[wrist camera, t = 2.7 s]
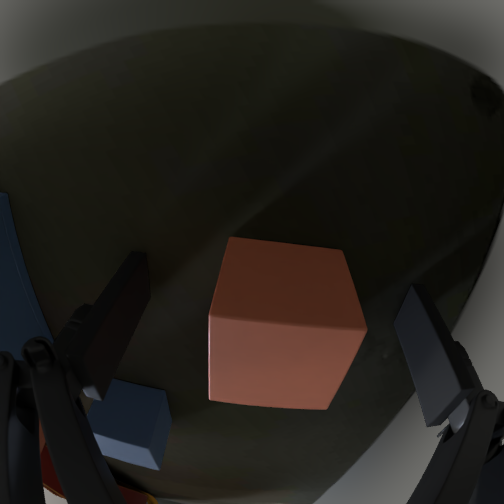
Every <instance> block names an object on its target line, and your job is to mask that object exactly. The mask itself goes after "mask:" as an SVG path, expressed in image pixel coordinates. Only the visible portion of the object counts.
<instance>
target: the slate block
mask: <svg viewBox="0 0 504 504" xmlns="http://www.w3.org/2000/svg"><path fill="white" fill-rule="evenodd" d="M87 418H88V421H89V424H90V426H91V429H92V431H93V434H94V436H95V438H96V441H97V443H98V446H99V448H100V450H101V452H102V454H103V455H106V456H109V457H112V458H115V459H118V460H121V461H125V462H128V463H132V464H135V465H139V466H143V467H147V468H151V469H155V470H160V468H161V464H162V460H163V456H164V452H165V447H166V443H167V439H168V435H169V431H170V427H171V423H172V418H171V414H170V410H169V406H168V401H167V397H166V393H165V391H164V390H160V389H155V388H151V387H146V386H142V385H137V384H133V383H129V382H125V381H121V380H117V379H112V381H111V384H110V386H109V388H108V391H107V393H106V395H105V398H104V400H103V401H100V400H96V399H94V400H93V403H92V405H91V407H90V410H89V412H88V414H87Z"/></svg>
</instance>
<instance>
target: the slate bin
mask: <svg viewBox="0 0 504 504" xmlns="http://www.w3.org/2000/svg"><path fill="white" fill-rule="evenodd" d="M38 336H42V337H46V338H47V339H49V340H50V341H51V343H52V344H53V342H54V340H53V337H52V335H51V333H50V330H49V328H48V326H47V323H46V321H45V319H44V316H43V314H42V311H41V309H40V306H39V303H38V301H37V298H36V295H35V293H34V290H33V287H32V284H31V281H30V278H29V275H28V272H27V269H26V266H25V263H24V259H23V256H22V253H21V249H20V245H19V242H18V238H17V234H16V230H15V226H14V222H13V218H12V213H11V208H10V204H9V199H8V194H7V193H0V351H8V352H10V353H11V354H12V355H13V357H14V359H15V360H24V359H23V357H22V356H21V349H22V347H23V345H24V344H25V343H26V342H27V341H28V340H29V339H31V338H33V337H38Z"/></svg>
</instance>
